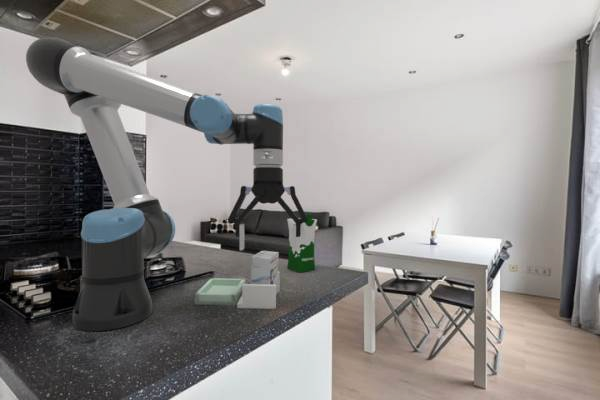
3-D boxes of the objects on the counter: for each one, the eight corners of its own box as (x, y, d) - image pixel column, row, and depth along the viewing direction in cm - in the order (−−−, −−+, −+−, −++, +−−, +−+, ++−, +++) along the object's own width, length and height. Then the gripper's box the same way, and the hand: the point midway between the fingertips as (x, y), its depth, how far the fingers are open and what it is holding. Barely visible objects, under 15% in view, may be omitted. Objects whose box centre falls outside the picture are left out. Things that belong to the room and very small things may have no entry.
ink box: (260, 292, 88) (260, 250, 88) (278, 294, 87) (279, 251, 87) (249, 303, 80) (249, 256, 80) (269, 305, 79) (269, 257, 79)
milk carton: (299, 273, 108) (300, 214, 107) (283, 268, 115) (284, 212, 114) (318, 270, 114) (319, 213, 113) (302, 265, 121) (303, 212, 120)
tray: (194, 304, 79) (194, 294, 78) (210, 286, 93) (210, 278, 92) (235, 305, 78) (235, 295, 78) (245, 287, 92) (245, 278, 92)
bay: (237, 308, 77) (237, 285, 77) (246, 290, 90) (247, 270, 90) (275, 308, 77) (275, 286, 77) (279, 290, 90) (279, 271, 90)
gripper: (215, 166, 78) (216, 252, 79) (317, 166, 78) (317, 252, 79) (223, 167, 86) (223, 246, 87) (316, 168, 86) (315, 246, 87)
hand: (268, 249), depth 83 cm, fingers open, 13 cm apart
